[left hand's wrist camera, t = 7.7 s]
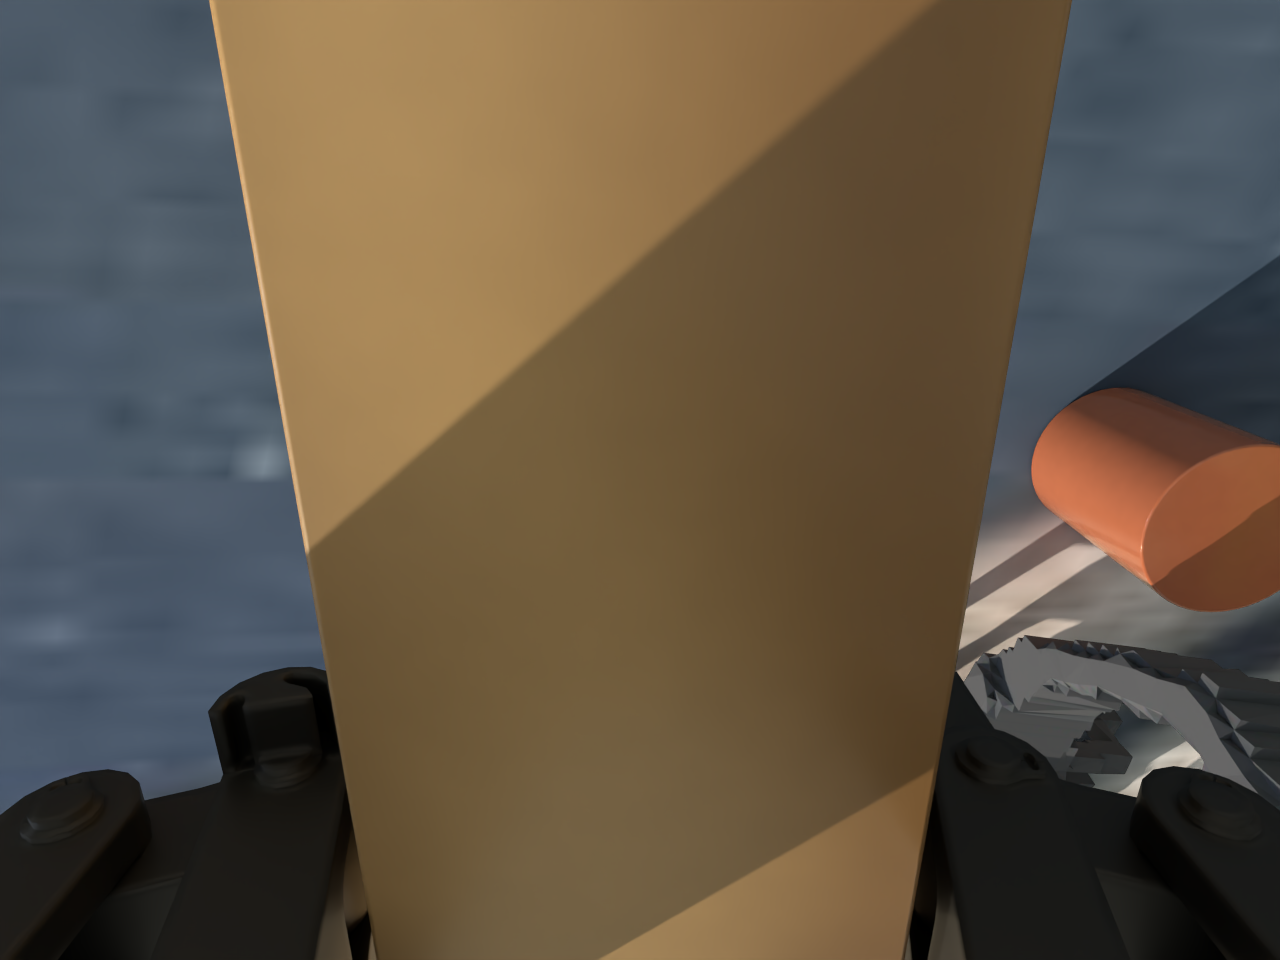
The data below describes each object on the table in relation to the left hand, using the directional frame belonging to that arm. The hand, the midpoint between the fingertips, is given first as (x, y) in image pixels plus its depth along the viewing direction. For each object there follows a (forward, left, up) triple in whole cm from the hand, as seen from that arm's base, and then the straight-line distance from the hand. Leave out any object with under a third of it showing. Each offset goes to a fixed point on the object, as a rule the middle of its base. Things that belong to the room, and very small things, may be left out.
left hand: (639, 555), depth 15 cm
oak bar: (0, +9, 0) cm, 9 cm away
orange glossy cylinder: (+18, -3, -15) cm, 23 cm away
